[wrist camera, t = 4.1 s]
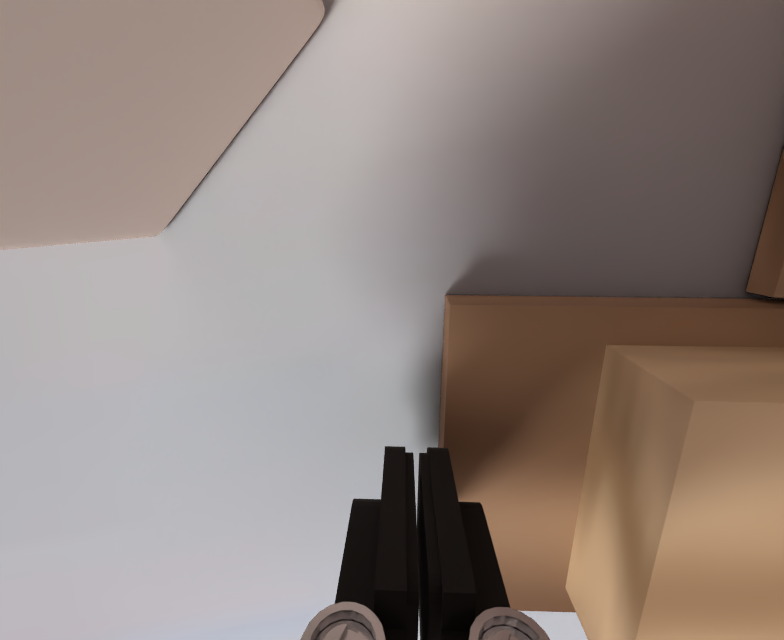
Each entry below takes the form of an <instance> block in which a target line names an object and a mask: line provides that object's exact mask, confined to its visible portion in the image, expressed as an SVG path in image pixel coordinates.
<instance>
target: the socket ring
mask: <svg viewBox="0 0 784 640" xmlns="http://www.w3.org/2000/svg"><path fill="white" fill-rule="evenodd" d="M746 291H747V292H751V293H756V294H760V295H765V296H769V297H778V298H784V148H783V152H782V156H781V160H780V163H779V167H778V171H777V175H776V178H775V182H774V186H773V190H772V194H771V197H770V201H769V205H768V209H767V213H766V216H765V220H764V224H763V228H762V232H761V235H760V239H759V243H758V247H757V251H756V254H755V258H754V262H753V266H752V270H751V273H750V277H749V281H748V285H747V289H746Z"/></svg>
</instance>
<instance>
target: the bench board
mask: <svg viewBox="0 0 784 640" xmlns="http://www.w3.org/2000/svg"><path fill="white" fill-rule="evenodd" d="M606 345H639V346H708V347H777V348H784V299H750V298H663V297H576V296H489V295H445V310H444V332H443V354H442V376H441V399H440V421H439V443H438V448H448V450H449V455H450V460H451V465H452V470H453V475H454V480H455V485H456V490H457V495H458V501H459V502H480V503H481V504H482V507H483V510H484V513H485V517H486V521H487V524H488V528H489V531H490V535H491V539H492V542H493V546H494V550H495V553H496V557H497V560H498V564H499V568H500V571H501V575H502V579H503V582H504V586H505V590H506V593H507V597H508V600H509V604H510V608H511V609H514V610H519V611H551V612H576V611H575V609H574V606H573V604H572V602H571V599H570V597H569V595H568V593H567V590H566V588H565V587H566V581H567V575H568V569H569V563H570V557H571V551H572V545H573V539H574V533H575V527H576V521H577V516H578V510H579V504H580V498H581V492H582V486H583V480H584V474H585V468H586V462H587V456H588V450H589V444H590V438H591V433H592V427H593V421H594V415H595V409H596V403H597V397H598V391H599V385H600V379H601V373H602V367H603V361H604V355H605V350H606Z"/></svg>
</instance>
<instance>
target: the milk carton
mask: <svg viewBox="0 0 784 640" xmlns="http://www.w3.org/2000/svg"><path fill="white" fill-rule="evenodd" d="M324 13H325V8H324V4H323V1H322V0H0V250H6V249H18V248H29V247H41V246H53V245H64V244H76V243H87V242H99V241H110V240H122V239H133V238H145V237H153V236H157V235H158V234H160V233H161V232H162V231H163V230H164V229H165V227H166V226H167V225H168V224H169V222H170V221H171V220H172V219H173V217H174V216H175V215H176V213H177V212H178V211H179V209H180V208H181V207H182V205H183V204H184V203H185V202H186V200H187V199H188V198H189V196H190V195H191V194H192V192H193V191H194V190H195V188H196V187H197V186H198V184H199V183H200V182H201V180H202V179H203V178H204V176H205V175H206V174H207V173H208V171H209V170H210V169H211V167H212V166H213V165H214V163H215V162H216V161H217V159H218V158H219V157H220V155H221V154H222V153H223V151H224V150H225V149H226V148H227V146H228V145H229V144H230V142H231V141H232V140H233V138H234V137H235V136H236V134H237V133H238V132H239V130H240V129H241V128H242V126H243V125H244V124H245V123H246V121H247V120H248V119H249V117H250V116H251V115H252V113H253V112H254V111H255V109H256V108H257V107H258V105H259V104H260V103H261V101H262V100H263V99H264V98H265V96H266V95H267V94H268V92H269V91H270V90H271V88H272V87H273V86H274V84H275V83H276V82H277V80H278V79H279V78H280V76H281V75H282V74H283V72H284V71H285V70H286V69H287V67H288V66H289V65H290V63H291V62H292V61H293V59H294V58H295V57H296V55H297V54H298V53H299V51H300V50H301V49H302V47H303V46H304V45H305V43H306V42H307V41H308V39H309V38H310V37H311V35H312V34H313V33H314V31H315V30H316V28H317V27H318V26H319V24H320V22H321V21H322V19H323V17H324Z"/></svg>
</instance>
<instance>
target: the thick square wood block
mask: <svg viewBox="0 0 784 640" xmlns="http://www.w3.org/2000/svg"><path fill="white" fill-rule="evenodd" d="M565 588H566V590H567V593H568V595H569V597H570V599H571V602H572V604H573V606H574V609H575V611H576V613H577V615H578V618H579V620H580V622H581V625H582V627H583V629H584V631H585V634H586V636H587V638H588V640H784V348H777V347H708V346H639V345H606V350H605V355H604V361H603V367H602V373H601V379H600V385H599V391H598V397H597V403H596V409H595V415H594V421H593V427H592V433H591V438H590V444H589V450H588V456H587V462H586V468H585V474H584V480H583V486H582V492H581V498H580V504H579V510H578V516H577V521H576V527H575V533H574V539H573V545H572V551H571V557H570V563H569V569H568V575H567V581H566V587H565Z"/></svg>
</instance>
